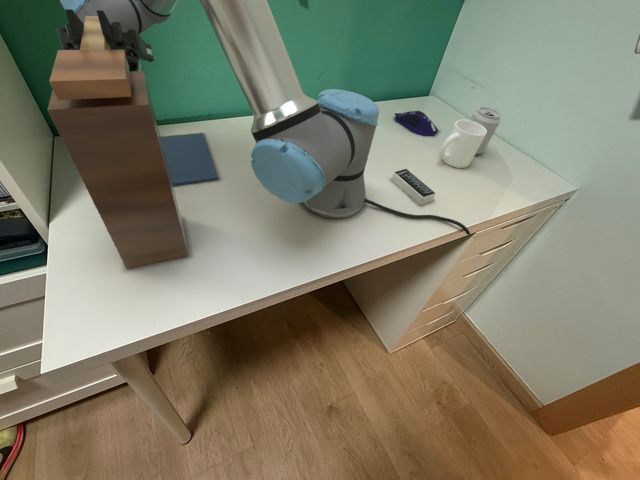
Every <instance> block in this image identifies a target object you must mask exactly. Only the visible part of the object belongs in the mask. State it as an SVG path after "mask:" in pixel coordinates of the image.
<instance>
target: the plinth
mask: <svg viewBox="0 0 640 480" xmlns="http://www.w3.org/2000/svg"><path fill="white" fill-rule="evenodd" d="M144 71H145V70H144ZM144 71H129V73H130V85H131V97H115V98H94V99H73V100H58V99H57V97H56V95H55V92H54V90H53V89H52V91H51V94H50V99H49V102H48V107H47V112H48V114H49V116H50V118H51V121H52V122H53V124H54V126H55V128H56V130H57V132H58V134H59V135H60V138H61V141H62V142H63V144H64V146H65V148H66V150H67V152H68V154H69V156H70V158H71V160H72V162H73V164H74V166H75V168H76V170H77V172H78V174H79V176H80V178H81V180H82V182H83V185H84V187H85V188H86V191H87V192H88V194H89V196H90V198H91V201H92V202H93V204H94V206H95V208H96V211H97V212H98V214H99V216H100V218H101V221H102V222H103V224H104V227H105V229H106V230H107V233H108V234H109V237H110V238H111V240H112V243H113V245H114V247H115V249H116V250H117V252H118V255H119V256H120V259H121V260H122V263H123V264H124V267H125V268H126V270H129V269H134V268H135V269H136V268H139V267H144V266H148V265H153V264H158V263H163V262H167V261H172V260H177V259H182V258H187V257H189V256H190V255H189V252H188V245H187V240H186V234H185V230H184V224H183V219H182V215H181V212H180V207H179V204H178V199H177V196H176V192H175V188H174V186H173V184H172V180H171V176H170V172H169V168H168V164H167V160H166V156H165V152H164V148H163V144H162V140H161V136H162V135H161V133H160V128H159V125H158V122H157V121H158V120H157V117H156V113H155V109H154V106H153V101H152V98H151V94H150V89H149V86H148V82H147V77H146V73H145V74H144Z"/></svg>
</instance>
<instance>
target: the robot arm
mask: <svg viewBox="0 0 640 480" xmlns="http://www.w3.org/2000/svg"><path fill="white" fill-rule="evenodd" d="M59 1H60V3H61V5H62V8H63V9H64V12H65V15H66V18H67V21H68V23H65V24H64V27H65V28H64V27H57V28H56V31H57V34H58V37H59V41H60V44H61V47H62V50H80V47H81V41H82V35H83V29H84V23H85V17H86V16H98V18H99V22H100V26H101V29H102V33H103V36H104V37H105V39H106V40H107V41H108V43H109V44H110V50H125V54H126V57H127V61H128V64H129V71H144V74H145V75H146V71H145V69H144V67H143V66H142V64H141V62H140V61H146V62H149V63H152V62H155V58H154V53H153V49H152V45H151V44H149V43H147V42H145V41H144V39H143V38H142V37H141V34H140V33H141V32H144V31H145V30H147V29H148V28H150V27H151V26H152V25H153V24H156V23H158V24H159V23H162V22H164V21H166V20H167V19H168V18H169V16H170V15H171V13H172V11H173V10H174V8H175V6H177V5H178V3H179V1H180V0H137V1H134V0H59ZM199 2H200V4H201V7H202V8H203V11H204V13H205V15H206V17H207V19H208V21H209V23H210V26H211V27H212V30H213V32H214V34H215V36H216V38H217V40H218V43H219V44H220V47H221V49H222V51H223V53H224V55H225V57H226V60H227V62H228V64H229V66H230V68H231V71H232V72H233V75H234V76H235V78H236V81H237V83H238V85H239V87H240V89H241V91H242V93H243V96H244V98H245V100H246V102H247V104H248V106H249V108H250V111H251V112H252V115H253V121H252V124H251V128H250V132H251V135H252V137H253V139H254V142H255V143H256V144H254V147H252V150H251V153H250V158H251V161H250V164H251V168H252V170H253V173H254V175H255V177H256V179H257V180H258V182H259V183H260V184H261V185H262V187H263V188H264V189H266V190H267V192H269V193H270V194H271V195H273V196H275V197H277V198H278V199H279V200H282V201H284V202H287V203H290V204H291V203H293V204H298V203H299V204H300V203H301V204H302V205H303V206H304V207H305V208H306V209H307V210H308V211H310V212H311V213H313V214H315V215H318V216H319V217H320V216H321V217H324V218H327V219H346V218H350V217H352V216H354V215H356V214H358V213H359V212H360V211H361V210H362V209H363V207H364V204H365V203H366V204H369V205H371V206H373V207H375V208H377V209H381V210H384V211H386V212H388V213H391V214H394V215H396V216H401V217H404V218H408V219H415V220H417V219H419V220H422V219H423V220H424V219H432V220H438V221H442V222H447V223H449V224H453V225H456V226H458V227H459V228H461V230H463V231H464V232H465V234H466V235H469V236H470V235H471V232H470V230H469V229H468V227H466V225H464V224H463V223H461V222H459V221H457V220H455V219H451V218H448V217H445V216H444V217H443V216H439V215H434V214H411V213H405V212H401V211H398V210H396V209H392V208H389V207H387V206H385V205H382V204H380V203H377V202H375V201H372V200H370V199H368V198H366V184H365V183H366V182H365V174H364V173H365V170H366V165H367V162H368V158H369V155H370V151H371V147H372V144H373V140H374V137H375V133H376V128H377V126H378V124H379V123H378V119H379V114H380V110H379V107H378V105H377V103H375V102H374V101H373V100H372V99H370V98H369V97H367V96H364V94H363V95H362V94H360V93H357V92H353V91H349V90H344V89H340V88H339V89H338V88H336V89H335V88H333V89H332V88H331V89H330V88H329V89H325V90H322V91H320V93H319V94H318V96H317V99H315V98H312V97H310V96H309V95H307V94H305V93H304V91H303V88H302V86H301V83H300V81H299V78H298V75H297V73H296V70H295V68H294V65H293V63H292V60H291V58H290V55H289V53H288V50H287V48H286V45H285V43H284V40H283V38H282V35H281V33H280V31H279V27H278V25H277V23H276V19H275V18H274V15H273V12H272V10H271V7H270V4H269V1H268V0H199Z"/></svg>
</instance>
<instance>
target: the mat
mask: <svg viewBox="0 0 640 480" xmlns="http://www.w3.org/2000/svg"><path fill="white" fill-rule="evenodd" d="M160 136H161V140H162V144H163V148H164V152H165V156H166V160H167V164H168V168H169V172H170V176H171V180H172V184H173V187H174V186H179V185H188V184H193V183H202V182H211V181H217V180H219V177H218V173H217V171H216V167H215V165H214V161H213V159H212V156H211V152H210V150H209V146H208V143H207V141H206V137H205V134H204V132H198V133H186V134H175V135H174V134H173V135H164V136H162V135H160Z"/></svg>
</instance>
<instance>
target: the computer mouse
mask: <svg viewBox="0 0 640 480" xmlns="http://www.w3.org/2000/svg"><path fill="white" fill-rule="evenodd" d="M394 119H395V122H397V123H399V124H400V125H402V126H403V127H404V128H406V129H408V130H409V131H411V132H412V133H415V134H418V135H420V136H421V135H422V136H430V137H431V136H432V137H433V136H435V135H436V134H437V133H438V132H439V129H438V128H437V126H436V125H435V124H434V122H433V121H432V120H431V119H430V118H429V117H428V116H427V114H425V112H422V111H420V110H410V111H405V112H403V113H402V112H398V113H397V112H394Z"/></svg>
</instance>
